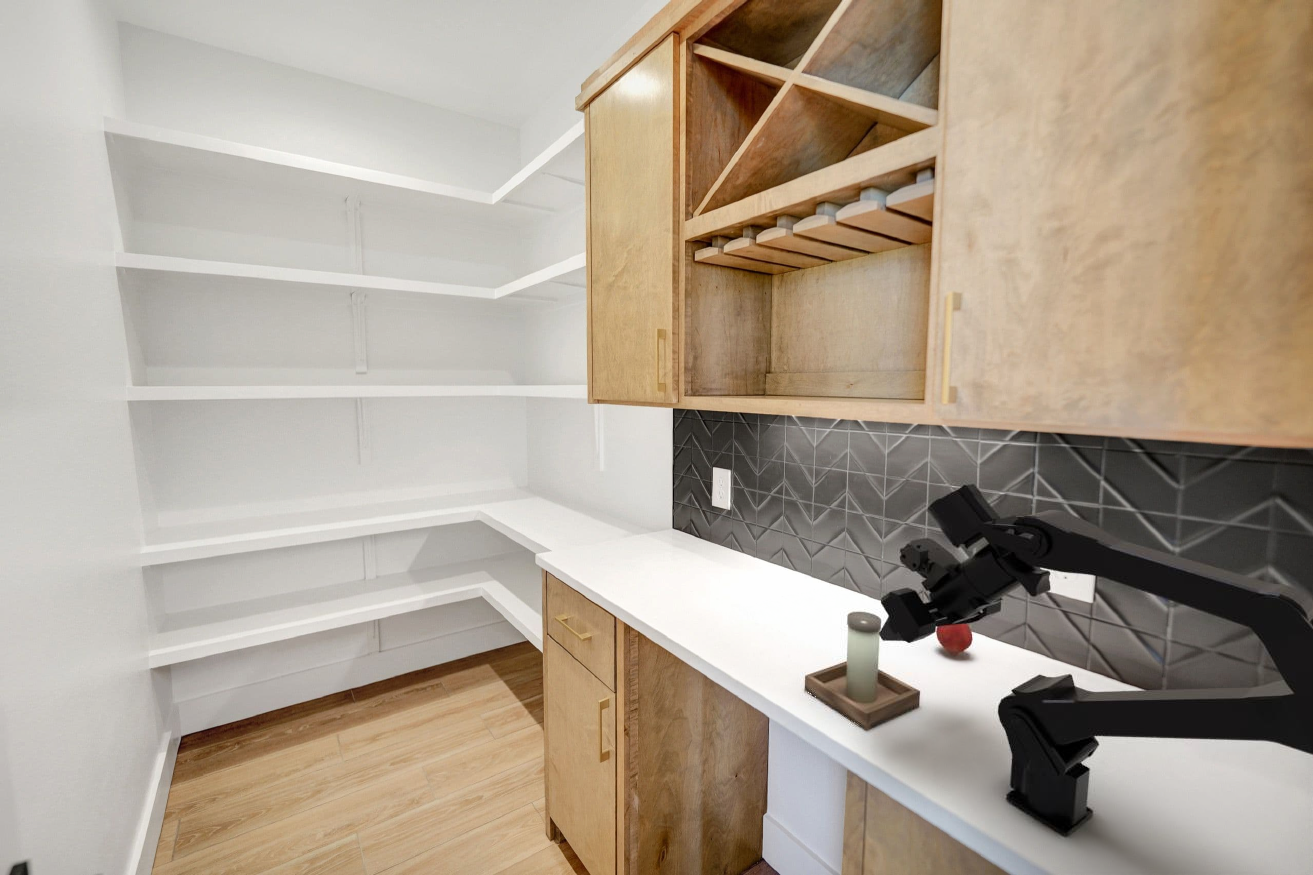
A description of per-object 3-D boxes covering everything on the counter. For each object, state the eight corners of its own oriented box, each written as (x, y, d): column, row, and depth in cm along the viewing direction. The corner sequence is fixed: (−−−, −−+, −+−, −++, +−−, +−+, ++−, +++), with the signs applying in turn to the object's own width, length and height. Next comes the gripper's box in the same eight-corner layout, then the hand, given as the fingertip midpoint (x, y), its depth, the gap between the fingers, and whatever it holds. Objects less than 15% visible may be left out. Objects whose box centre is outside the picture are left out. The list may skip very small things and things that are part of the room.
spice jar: (883, 694, 88) (886, 617, 87) (869, 707, 85) (873, 627, 83) (852, 682, 91) (855, 608, 90) (839, 695, 88) (841, 618, 87)
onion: (928, 649, 104) (930, 608, 104) (951, 644, 106) (953, 604, 106) (954, 664, 99) (957, 620, 98) (978, 658, 101) (981, 616, 100)
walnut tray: (919, 706, 86) (920, 691, 86) (866, 730, 80) (866, 713, 80) (855, 671, 96) (856, 657, 96) (804, 690, 90) (805, 675, 90)
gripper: (984, 517, 80) (912, 571, 90) (896, 532, 71) (827, 590, 81) (1040, 588, 74) (956, 637, 84) (952, 615, 65) (870, 666, 75)
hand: (903, 630), depth 81 cm, fingers open, 9 cm apart
